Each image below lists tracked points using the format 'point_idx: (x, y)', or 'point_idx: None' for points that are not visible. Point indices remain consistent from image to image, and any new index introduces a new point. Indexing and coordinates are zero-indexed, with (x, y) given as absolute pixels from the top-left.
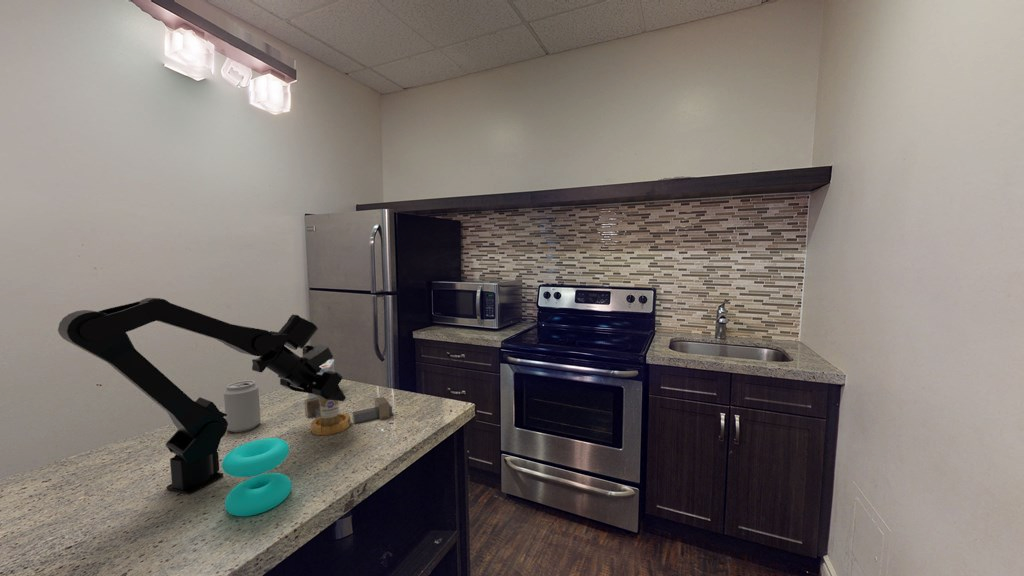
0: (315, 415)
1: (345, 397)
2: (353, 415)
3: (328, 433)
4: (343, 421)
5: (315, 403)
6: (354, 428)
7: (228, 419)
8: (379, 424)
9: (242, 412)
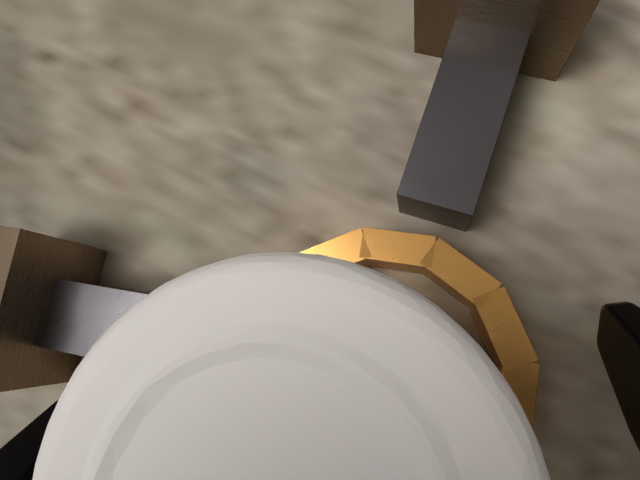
0: None
1: (628, 303)
2: (441, 210)
3: None
4: (503, 327)
5: (19, 325)
6: (549, 272)
7: None
8: (636, 119)
9: None
